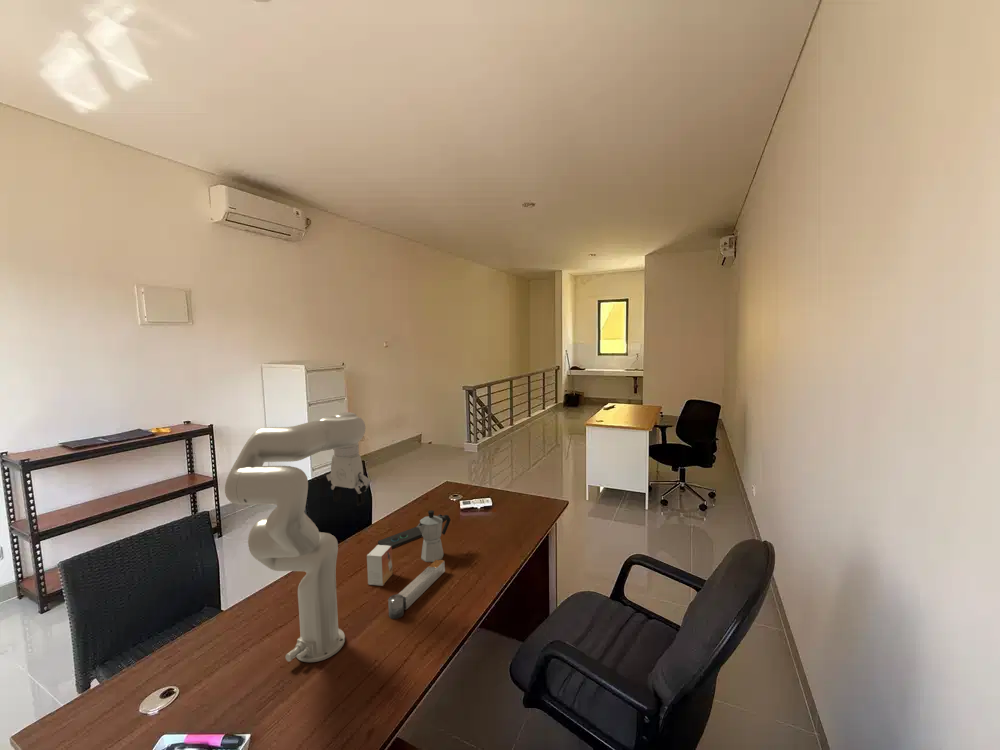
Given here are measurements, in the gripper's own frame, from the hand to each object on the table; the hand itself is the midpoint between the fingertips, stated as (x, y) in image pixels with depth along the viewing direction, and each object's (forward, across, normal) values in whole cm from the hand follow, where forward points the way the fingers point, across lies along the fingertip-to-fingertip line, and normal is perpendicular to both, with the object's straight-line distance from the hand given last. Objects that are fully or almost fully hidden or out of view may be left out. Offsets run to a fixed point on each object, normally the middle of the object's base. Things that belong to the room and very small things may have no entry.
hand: (349, 502), depth 141 cm
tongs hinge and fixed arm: (+30, +21, +7) cm, 38 cm away
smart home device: (+31, -7, +38) cm, 49 cm away
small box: (+31, +4, +9) cm, 32 cm away
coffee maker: (+31, +13, +30) cm, 45 cm away
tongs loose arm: (+30, +22, +9) cm, 38 cm away
